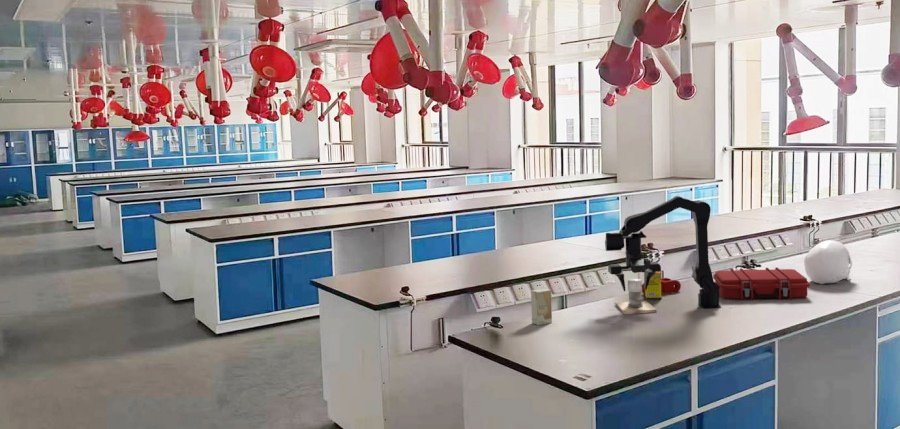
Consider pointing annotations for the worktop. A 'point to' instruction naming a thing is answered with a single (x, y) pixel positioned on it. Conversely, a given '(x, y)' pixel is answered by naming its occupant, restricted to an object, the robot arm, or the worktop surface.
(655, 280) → the supplement box
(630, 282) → the cap
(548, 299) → the skincare box
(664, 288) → the mechanical linkage
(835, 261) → the lumpy white sphere
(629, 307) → the beige square board
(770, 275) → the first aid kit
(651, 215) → the robot arm
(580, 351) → the worktop surface
